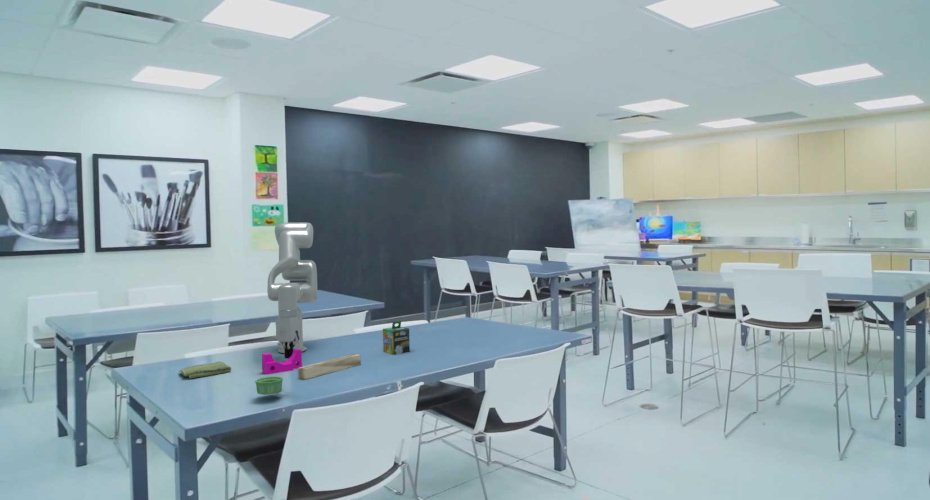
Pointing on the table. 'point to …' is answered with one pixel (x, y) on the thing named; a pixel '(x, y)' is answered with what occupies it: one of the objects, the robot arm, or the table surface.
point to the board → (328, 366)
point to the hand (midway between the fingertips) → (289, 357)
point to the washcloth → (205, 369)
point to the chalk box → (396, 339)
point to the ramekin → (269, 385)
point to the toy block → (281, 363)
